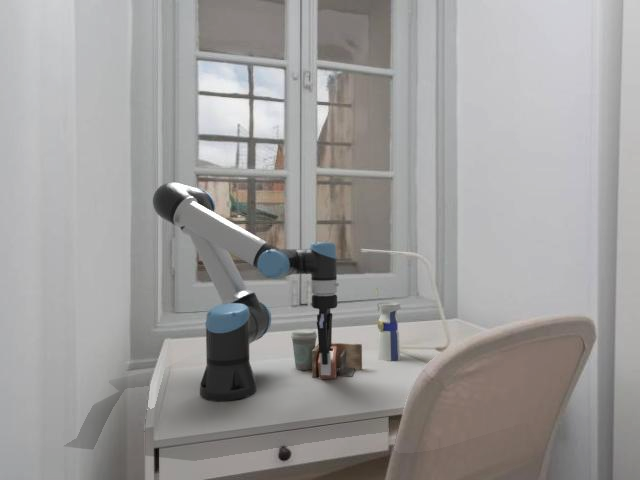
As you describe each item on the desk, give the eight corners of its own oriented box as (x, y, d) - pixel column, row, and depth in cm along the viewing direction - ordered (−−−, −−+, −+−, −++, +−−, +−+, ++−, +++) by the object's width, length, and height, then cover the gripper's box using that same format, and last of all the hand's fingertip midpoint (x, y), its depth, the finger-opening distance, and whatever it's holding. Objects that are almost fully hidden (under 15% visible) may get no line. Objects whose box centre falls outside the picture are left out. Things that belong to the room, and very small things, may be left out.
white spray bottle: (385, 362, 138) (384, 289, 138) (372, 356, 146) (372, 286, 146) (405, 359, 141) (404, 287, 141) (392, 354, 149) (391, 285, 149)
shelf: (312, 377, 124) (311, 350, 124) (319, 366, 135) (319, 342, 135) (357, 379, 121) (357, 352, 121) (362, 368, 132) (361, 344, 132)
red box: (319, 378, 123) (317, 362, 121) (322, 361, 131) (320, 346, 130) (335, 378, 122) (334, 362, 120) (337, 361, 131) (336, 346, 129)
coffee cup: (286, 367, 134) (285, 330, 134) (306, 362, 140) (305, 327, 140) (302, 373, 128) (302, 334, 128) (322, 367, 134) (322, 330, 134)
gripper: (333, 297, 113) (335, 382, 112) (340, 291, 126) (341, 368, 125) (307, 297, 114) (308, 381, 114) (316, 291, 127) (317, 367, 127)
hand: (325, 374), depth 120 cm, fingers closed
